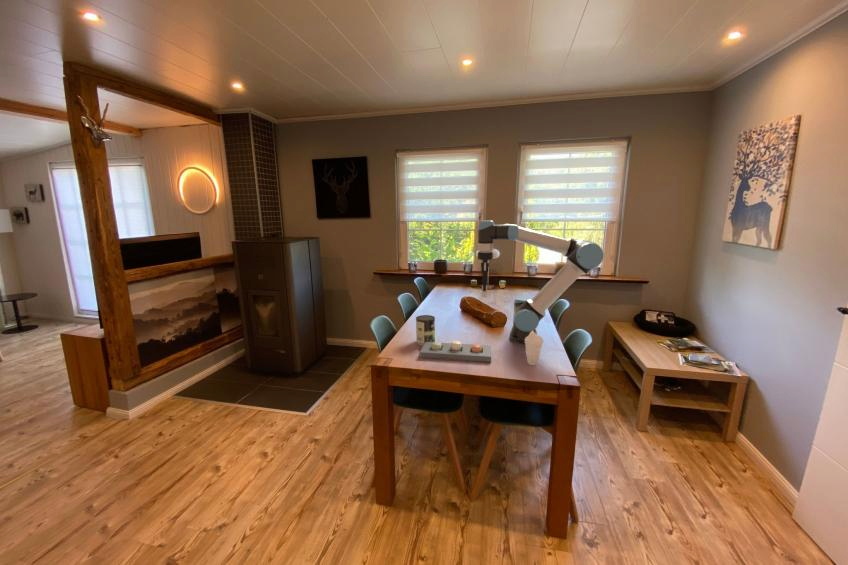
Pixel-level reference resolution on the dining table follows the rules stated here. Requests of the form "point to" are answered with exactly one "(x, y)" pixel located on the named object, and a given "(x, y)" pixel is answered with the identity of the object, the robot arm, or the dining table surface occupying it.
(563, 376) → the dining table surface
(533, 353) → the soft serve ice cream cone
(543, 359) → the dining table surface
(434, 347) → the sage button
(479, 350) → the terracotta button
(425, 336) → the coffee can
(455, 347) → the cream button
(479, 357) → the button panel
